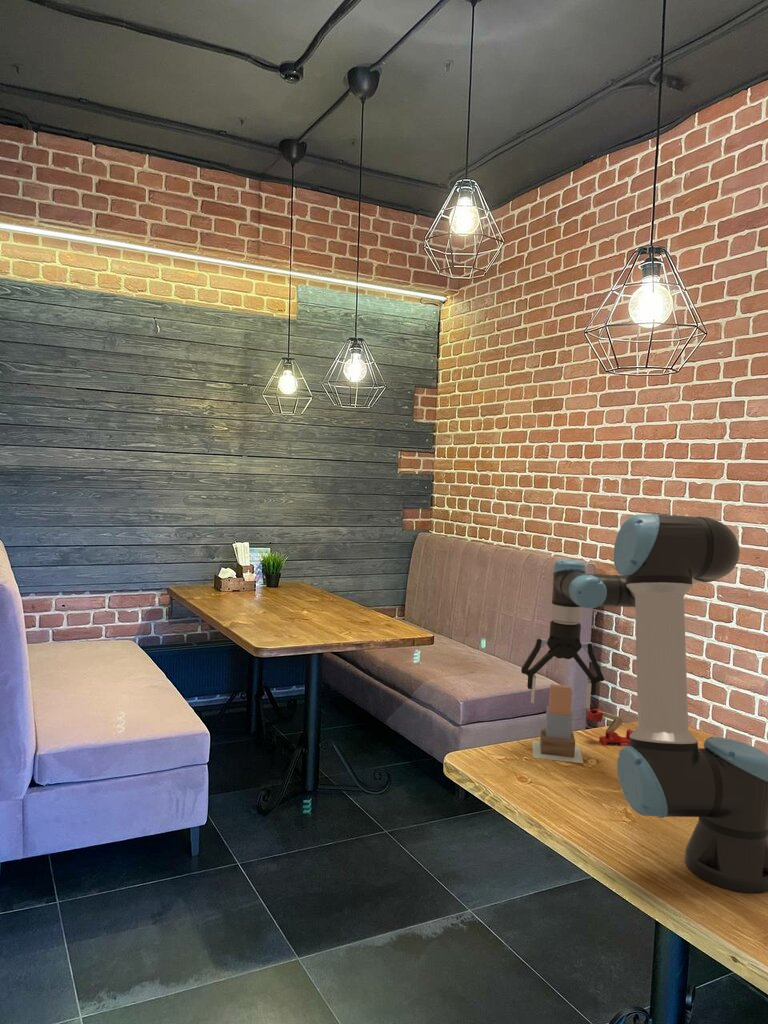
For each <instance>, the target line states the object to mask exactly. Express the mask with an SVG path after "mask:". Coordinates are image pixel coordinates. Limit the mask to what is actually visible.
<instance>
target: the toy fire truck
mask: <svg viewBox="0 0 768 1024" xmlns="http://www.w3.org/2000/svg"><path fill="white" fill-rule="evenodd" d="M587 710H588V711H587V716H586V717H587V718H588V719H589V720H590V722H599V723H601V722H602V720H603V717H604V718H606V719H609V720H612V721H611V723H610V724H609V726H608V727H607V728H606V729H605V736H604V735H603V736H599V740H598V741H599V743H601V745H602V746H607V747H608V746H609V747H610V746H614V747H616V746H617V747H619V746H620V747H626V746H630V734H631V733H632V732H633V731H634V730H632V729H630V728H629V729H626V734H625V737H624V736H621V735H619V734H618V733H617V732H615V731H617V730H618V729H619V728H620V727H621V726H622V725H624V722H625V721H624V719H622V718H621V717H620V715H615V714H611V713H608V712H605V711H601V710H600V709H599V708H595V709H587Z"/></svg>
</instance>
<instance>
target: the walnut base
mask: <svg viewBox="0 0 768 1024" xmlns="http://www.w3.org/2000/svg"><path fill="white" fill-rule="evenodd" d="M539 738H540V739H539V740H540V741H539V742H540V747H541V754H546V755H554V756H563V757H572V758H574V754H575V746H576V739H575V734H574V731H573V730H571V740H568V739H559V738H550V737H546V732H545V727H540V737H539Z"/></svg>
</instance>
